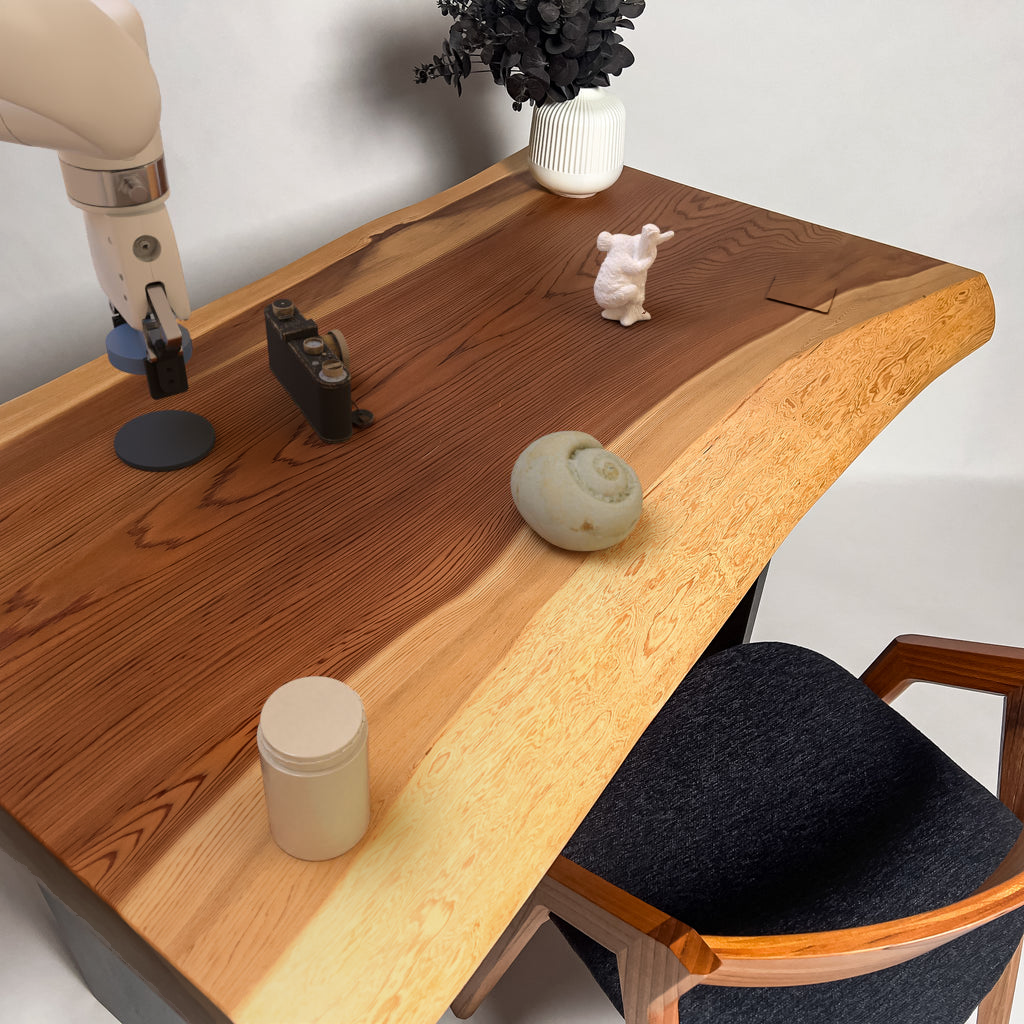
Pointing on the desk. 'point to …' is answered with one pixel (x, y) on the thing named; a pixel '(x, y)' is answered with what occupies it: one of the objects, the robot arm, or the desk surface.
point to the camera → (313, 371)
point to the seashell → (576, 492)
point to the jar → (315, 767)
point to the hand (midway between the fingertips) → (153, 371)
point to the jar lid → (137, 347)
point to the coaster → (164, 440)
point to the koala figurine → (626, 272)
